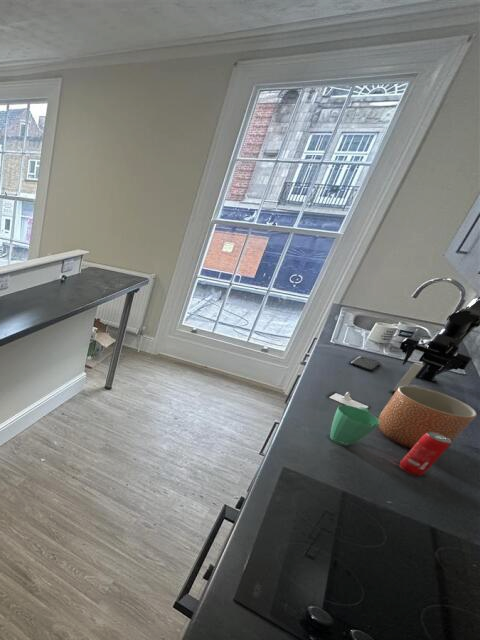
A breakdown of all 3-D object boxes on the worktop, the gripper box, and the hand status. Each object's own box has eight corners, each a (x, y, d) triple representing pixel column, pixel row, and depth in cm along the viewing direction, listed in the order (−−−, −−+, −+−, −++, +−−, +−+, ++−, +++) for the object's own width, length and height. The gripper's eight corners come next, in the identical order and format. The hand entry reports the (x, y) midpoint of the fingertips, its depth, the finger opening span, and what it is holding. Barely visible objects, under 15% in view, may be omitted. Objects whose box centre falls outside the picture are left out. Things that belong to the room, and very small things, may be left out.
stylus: (393, 391, 155) (415, 362, 149) (401, 394, 154) (423, 365, 147) (391, 393, 154) (413, 363, 147) (399, 396, 152) (421, 366, 146)
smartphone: (350, 362, 174) (360, 355, 182) (349, 363, 174) (359, 356, 182) (371, 369, 169) (381, 362, 177) (370, 371, 169) (380, 363, 177)
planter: (438, 441, 127) (473, 402, 120) (442, 466, 116) (481, 424, 109) (370, 417, 137) (398, 379, 129) (367, 438, 126) (398, 398, 118)
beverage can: (392, 463, 116) (420, 431, 109) (408, 463, 116) (436, 431, 110) (411, 476, 111) (441, 443, 105) (427, 476, 112) (457, 443, 106)
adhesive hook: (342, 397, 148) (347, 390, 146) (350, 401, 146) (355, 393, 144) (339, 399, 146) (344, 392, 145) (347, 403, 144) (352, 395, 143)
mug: (355, 455, 118) (375, 428, 112) (316, 437, 124) (334, 411, 119) (367, 438, 126) (387, 413, 120) (330, 422, 132) (347, 397, 127)
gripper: (420, 318, 153) (391, 348, 154) (490, 337, 140) (458, 370, 140) (413, 333, 161) (386, 362, 162) (479, 353, 148) (449, 385, 148)
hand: (418, 369), depth 153 cm, fingers open, 9 cm apart
